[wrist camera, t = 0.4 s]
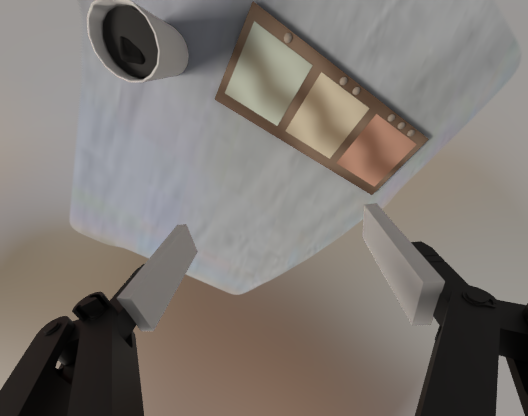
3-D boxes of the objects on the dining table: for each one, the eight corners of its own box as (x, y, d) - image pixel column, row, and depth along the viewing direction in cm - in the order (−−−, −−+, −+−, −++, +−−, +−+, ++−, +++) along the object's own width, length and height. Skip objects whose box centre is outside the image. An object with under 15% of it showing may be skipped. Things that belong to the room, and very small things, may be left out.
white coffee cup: (192, 84, 30) (162, 89, 22) (145, 74, 29) (96, 75, 21) (192, 25, 26) (156, 4, 18) (138, 12, 26) (76, -16, 18)
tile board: (253, 3, 25) (252, 0, 24) (424, 137, 33) (429, 139, 32) (216, 98, 31) (214, 99, 30) (369, 192, 39) (372, 195, 38)
